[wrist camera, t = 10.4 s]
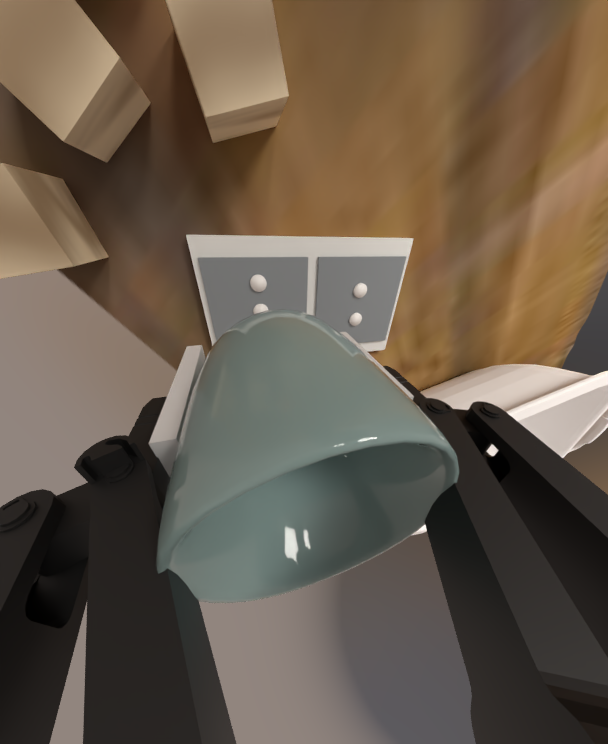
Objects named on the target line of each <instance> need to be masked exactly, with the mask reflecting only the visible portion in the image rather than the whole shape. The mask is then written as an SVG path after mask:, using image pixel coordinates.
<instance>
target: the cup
mask: <svg viewBox="0 0 608 744" xmlns="http://www.w3.org/2000/svg"><path fill="white" fill-rule="evenodd" d="M458 476H459V465H458V459H457V454H456V452H455V450H454V449H453V447H452V446H451V444H450V443H449V442H448V440H447V439H446V438H445V436H444V435H443V433H442V432H441V431H440V430H439V429H438V427H437V426H436V425H435V424H434V423H433V421H432V420H431V419H430V418H429V417H428V416H427V415H426V414H425V413H424V412H423V411H422V410H421V409H420V407H419V406H418V405H417V404H416V403H415V402H414V401H413V400H412V399H411V398H410V397H409V396H408V395H407V394H406V393H405V392H404V391H403V390H402V389H401V388H400V387H399V386H398V385H397V384H396V383H394V382H393V381H392V380H391V379H390V378H389V377H388V376H387V375H386V374H385V373H384V372H383V371H382V370H381V369H380V368H379V367H378V366H377V365H376V364H375V363H374V362H373V361H372V360H371V359H370V358H369V357H368V356H367V355H366V354H364V353H363V352H362V351H361V350H360V349H359V348H358V347H357V346H356V345H355V344H353V343H352V342H351V341H350V340H349V339H348V338H346V337H345V336H344V335H343V334H341V333H340V332H339V331H337V330H336V329H335V328H333V327H332V326H330V325H329V324H327V323H326V322H324V321H323V320H321V319H319V318H318V317H316V316H313V315H310V314H307V313H304V312H302V311H299V310H291V309H276V310H267V311H263V312H260V313H256V314H253V315H251V316H249V317H247V318H244V319H242V320H240V321H238V322H237V323H236V324H234V325H233V326H231V327H230V328H228V329H227V330H226V331H225V332H224V333H223V334H222V335H221V336H220V338H219V339H218V340H217V341H216V342H215V343H214V344H213V346H212V348H211V350H210V352H209V353H208V355H207V357H206V359H205V361H204V363H203V364H202V367H201V369H200V371H199V374H198V376H197V379H196V382H195V385H194V388H193V391H192V394H191V398H190V401H189V405H188V408H187V412H186V416H185V419H184V423H183V427H182V431H181V435H180V439H179V443H178V447H177V451H176V455H175V459H174V463H173V467H172V471H171V475H170V480H169V484H168V488H167V492H166V497H165V502H164V507H163V511H162V517H161V523H160V529H159V535H158V542H157V548H156V566H155V567H156V569H157V571H158V574H159V573H161V572H163V571H165V570H166V569H167V568H168V569H169V570H171V571H173V572H174V573H176V574H177V575H178V576H179V577H180V578H181V579H182V580H183V581H184V582H185V583H186V584H187V586H188V587H189V589H190V590H191V592H192V593H193V595H194V596H195V597H196V598H197V600H198V601H202V602H209V603H234V602H246V601H252V600H258V599H264V598H269V597H273V596H277V595H281V594H285V593H288V592H291V591H294V590H298V589H301V588H304V587H307V586H310V585H313V584H315V583H318V582H321V581H323V580H326V579H328V578H331V577H333V576H336V575H338V574H340V573H342V572H345V571H347V570H350V569H352V568H354V567H356V566H358V565H360V564H362V563H364V562H366V561H368V560H370V559H372V558H374V557H376V556H378V555H380V554H381V553H383V552H385V551H387V550H389V549H390V548H392V547H394V546H395V545H397V544H399V543H400V542H402V541H403V540H405V539H406V538H408V537H409V536H410V535H412V534H414V533H415V532H416V531H418V530H419V529H420V528H421V527H423V526H424V525H425V519H426V517H427V514H428V512H429V510H430V508H431V506H432V504H433V503H434V502H435V501H436V499H437V498H438V497H439V496H440V494H441V493H443V492H444V491H445V490H447V489H448V488H449V487H450V486H452V485H453V484H454V483H457V480H458Z"/></svg>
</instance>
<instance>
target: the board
mask: <svg viewBox="0 0 608 744" xmlns="http://www.w3.org/2000/svg"><path fill="white" fill-rule="evenodd" d="M186 237H187V242H188V246H189V250H190V254H191V258H192V262H193V267H194V271H195V275H196V279H197V283H198V288H199V292H200V296H201V300H202V304H203V308H204V313H205V317H206V321H207V325H208V329H209V333H210V338H211V342H212V346H213V344H214V343H215V342H216V341H217V340H218V339H219V338H220V336H221V335H222V334H223V333H224V332H225V331H226V330H227V329H228V328H230V327H231V326H233V325H234V324H236V323H237V322H238V321H240V320H242V319H244V318H247V317H249V316H251V315H253V314H256V313H260V312H263V311H267V310H276V309H291V310H299V311H302V312H304V313H307V314H310V315H313V316H316V317H318V318H319V319H321V320H323V321H324V322H326V323H327V324H329V325H330V326H332V327H333V328H335V329H336V330H337V331H339V332H347V333H348V334H349V335H350V336H351V337H352V338H353V339H354V340H355V341H356V342H357V343H358V344H359V345H360V346H361V347H363V348H364V349H365V350H366V351H367V352H369V351H378V350H385V346H386V343H387V339H388V335H389V331H390V327H391V323H392V319H393V316H394V312H395V308H396V304H397V300H398V296H399V293H400V289H401V285H402V281H403V277H404V273H405V270H406V266H407V262H408V258H409V254H410V250H411V246H412V243H413V239H414V238H373V237H310V236H247V235H186Z"/></svg>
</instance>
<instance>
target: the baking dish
mask: <svg viewBox="0 0 608 744" xmlns="http://www.w3.org/2000/svg"><path fill="white" fill-rule="evenodd" d="M420 393H421V394H423V395H424V396H425V397H426V398H434V399H438V400H441V401H443V402H445V403H447V404H448V405H450V406H451V407H452V409H462V410H468V409H469V408H470V406H471V404H472V403H473V402H476V401H482V402H488V403H491V404H493V405H495V406H498V407H499V408H501V409H502V410H504V411H505V412H507V413H508V414H509V415H510V416H511V417H513V418H514V419H515V420H516V421H518V422H519V423H520V424H521V425H522V426H524V427H525V428H526V429H527V430H529V431H530V432H531V433H532V434H534V435H535V436H536V437H537V438H538V439H540V440H541V441H542V442H543V443H545V444H546V445H547V446H548V447H550V448H551V449H552V450H553V451H554V452H556V453H557V454H558V455H559V456H561V457H562V458H564V456H565V455H566V454H567V453H568V452H570V451H573V450H575V449H578V448H580V447H581V446H583V445H584V444H586V443H587V444H588V443H591V442H592V441H593V440H595V439H596V438H597V437H598V436H599V435H600V434H601V433H602V432H603V431H604V430H605V429H606V428H607V427H608V371H605V372H601V373H599V374H596V375H594V376H591V375H587V374H581V373H578V372H573V371H568V370H564V369H559V368H554V367H547V366H541V365H534V364H509V365H498V366H491V367H487V368H484V369H479V370H474V371H471V372H469V373H466V374H464V375H461V376H459V377H456V378H454V379H451V380H449V381H446V382H443V383H441V384H438V385H436V386H433V387H431V388H428V389H426V390H423V391H421V392H420ZM487 452H488V453H489V454H490V455H491V456H494V455H495V454H496V453H497V452H498V449H497V448H496V447H495V446H494V445H493V444H492V445H491V446H490V447H489V449H488V450H487ZM426 531H427V529H426V525H424V526H423V527H421V528H420V529H419V530H418V531H416V532H415V533H414V534H412V535H415V534H420V533H423V532H426Z"/></svg>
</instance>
